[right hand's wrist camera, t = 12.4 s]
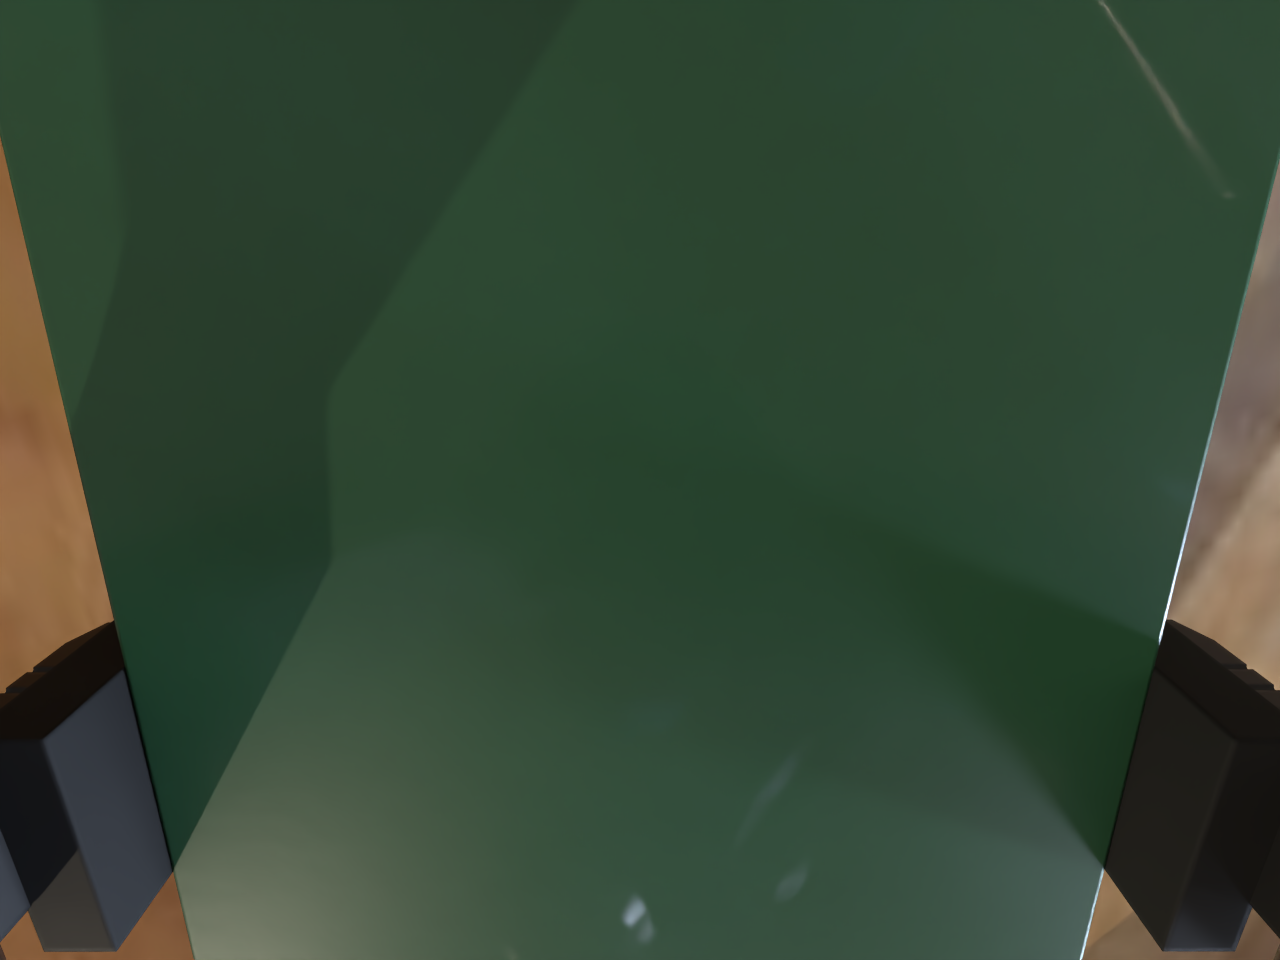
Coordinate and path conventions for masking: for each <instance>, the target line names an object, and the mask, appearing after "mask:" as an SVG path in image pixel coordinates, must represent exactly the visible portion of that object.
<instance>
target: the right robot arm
mask: <svg viewBox="0 0 1280 960" xmlns="http://www.w3.org/2000/svg"><path fill="white" fill-rule="evenodd" d="M33 669H34V670H33V672H27V673H25V674H24V675H23V676H21V677H20V678H19V679H17V680H16V681H15V682H14V683H12V684H11V685H10V686H8V687H7V688H6V692H5V693H0V942H1V941H2V939H3V938H4V937H5V936H6V935H7V934H8V933H9V931H10V930H11V929H12V928H13V927H14V926H15V925H16V923H17V922H18V921H19V920H20V919H21V918H22V917H23V915H24V914H25V913H26V912H27V911H28V912H29V915H30V917H31V920H32V922H33V925H34V927H35V930H36V932H37V935H38V937H39V940H40V942H41V945H42V948H43V950H44V952H116V951H117V950H118V949H119V947H120V946H121V944H122V943H123V942H124V940H125V939H126V937H127V936H128V934H129V933H130V932H131V930H132V929H133V927H134V926H135V925H136V923H137V922H138V920H139V919H140V917H141V916H142V915H143V913H144V912H145V910H146V909H147V908H148V906H149V905H150V903H151V902H152V900H153V899H154V898H155V896H156V895H157V893H158V892H159V891H160V889H161V888H162V886H163V885H164V883H165V882H166V881H167V879H168V878H169V876H170V875H171V874H172V872H173V868H172V864H171V860H170V856H169V851H168V847H167V843H166V839H165V834H164V830H163V826H162V822H161V817H160V813H159V809H158V804H157V800H156V796H155V792H154V787H153V783H152V779H151V775H150V770H149V766H148V762H147V758H146V753H145V749H144V745H143V741H142V736H141V732H140V728H139V724H138V719H137V715H136V711H135V707H134V702H133V698H132V694H131V690H130V685H129V681H128V677H127V673H126V668H125V664H124V660H123V656H122V651H121V647H120V643H119V639H118V634H117V630H116V626H115V622H114V621H112V622H108V623H106V624H104V625H102V626H100V627H98V628H96V629H94V630H92V631H90V632H87V633H85V634H83V635H81V636H79V637H77V638H75V639H73V640H71V641H69V642H67V643H65V644H64V645H63V646H61V647H60V648H59V649H57V650H56V651H55V652H53V653H52V654H51V655H49V656H48V657H47V658H45V659H44V660H43V661H41V662H40V663H39V664H37V665H36V666H35V667H33ZM1104 869H1105V870H1106V872H1107V873H1108V875H1109V876H1110V877H1111V879H1112V880H1113V882H1114V883H1115V885H1116V886H1117V887H1118V889H1119V890H1120V892H1121V893H1122V894H1123V896H1124V897H1125V899H1126V900H1127V902H1128V903H1129V904H1130V906H1131V907H1132V909H1133V910H1134V911H1135V913H1136V914H1137V916H1138V917H1139V919H1140V920H1141V921H1142V923H1143V924H1144V926H1145V927H1146V928H1147V930H1148V931H1149V933H1150V934H1151V936H1152V937H1153V938H1154V940H1155V941H1156V943H1157V944H1158V945H1159V947H1160V948H1161V950H1162V951H1235V950H1236V947H1237V945H1238V942H1239V940H1240V937H1241V935H1242V932H1243V930H1244V927H1245V924H1246V922H1247V919H1248V917H1249V914H1250V912H1251V909H1252V907H1253V909H1254V910H1255V911H1256V912H1257V913H1258V914H1259V915H1260V917H1261V918H1262V919H1263V920H1264V921H1265V922H1266V923H1267V925H1268V926H1269V927H1270V928H1271V929H1272V930H1273V931H1274V933H1275V934H1276V935H1277V936H1278V937H1279V938H1280V690H1275V689H1274V685H1273V684H1272V683H1271V682H1269V681H1268V680H1267V679H1265V678H1264V677H1262V676H1261V675H1260V674H1258V673H1257V672H1256V671H1254V670H1253V669H1247V667H1246V664H1245V663H1244V662H1242V661H1241V660H1240V659H1238V658H1237V657H1236V656H1234V655H1233V654H1232V653H1230V652H1229V651H1228V650H1226V649H1225V648H1224V647H1222V646H1221V645H1220V644H1218V643H1217V642H1216V641H1214V640H1212V639H1210V638H1208V637H1206V636H1204V635H1202V634H1200V633H1198V632H1196V631H1194V630H1192V629H1190V628H1188V627H1186V626H1184V625H1182V624H1179V623H1177V622H1175V621H1173V620H1166V621H1165V625H1164V629H1163V633H1162V637H1161V641H1160V646H1159V650H1158V654H1157V658H1156V662H1155V666H1154V670H1153V674H1152V678H1151V682H1150V686H1149V690H1148V694H1147V698H1146V702H1145V706H1144V710H1143V714H1142V718H1141V722H1140V727H1139V731H1138V735H1137V739H1136V743H1135V747H1134V751H1133V755H1132V759H1131V763H1130V767H1129V771H1128V775H1127V779H1126V783H1125V787H1124V791H1123V795H1122V799H1121V803H1120V808H1119V812H1118V816H1117V820H1116V824H1115V828H1114V832H1113V836H1112V840H1111V844H1110V848H1109V852H1108V856H1107V860H1106V864H1105V868H1104ZM0 960H6V957H5V955H4V952H3V950H2V948H1V945H0ZM1274 960H1280V945H1279V948H1278V950H1277V952H1276V955H1275V957H1274Z"/></svg>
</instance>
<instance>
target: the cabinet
mask: <svg viewBox="0 0 1280 960" xmlns="http://www.w3.org/2000/svg"><path fill="white" fill-rule="evenodd" d="M0 137H1V141H2V145H3V149H4V154H5V158H6V162H7V167H8V171H9V175H10V179H11V184H12V188H13V192H14V196H15V201H16V205H17V209H18V213H19V218H20V222H21V226H22V230H23V235H24V239H25V243H26V247H27V252H28V256H29V260H30V264H31V269H32V273H33V277H34V281H35V286H36V290H37V294H38V298H39V303H40V307H41V311H42V315H43V320H44V324H45V328H46V332H47V337H48V341H49V345H50V349H51V354H52V358H53V362H54V366H55V371H56V375H57V379H58V383H59V388H60V392H61V396H62V400H63V405H64V409H65V413H66V417H67V422H68V426H69V430H70V434H71V439H72V443H73V447H74V451H75V456H76V460H77V464H78V468H79V473H80V477H81V481H82V485H83V490H84V494H85V498H86V503H87V507H88V511H89V515H90V520H91V524H92V528H93V532H94V537H95V541H96V545H97V549H98V554H99V558H100V562H101V566H102V571H103V575H104V579H105V583H106V588H107V592H108V596H109V600H110V605H111V609H112V613H113V617H114V622H115V626H116V630H117V634H118V639H119V643H120V647H121V651H122V656H123V660H124V664H125V668H126V673H127V677H128V681H129V685H130V690H131V694H132V698H133V702H134V707H135V711H136V715H137V719H138V724H139V728H140V732H141V736H142V741H143V745H144V749H145V753H146V758H147V762H148V766H149V770H150V775H151V779H152V783H153V787H154V792H155V796H156V800H157V804H158V809H159V813H160V817H161V822H162V826H163V830H164V834H165V839H166V843H167V847H168V851H169V856H170V860H171V864H172V868H173V873H174V877H175V881H176V885H177V890H178V894H179V898H180V902H181V907H182V911H183V915H184V919H185V924H186V928H187V932H188V936H189V941H190V945H191V949H192V953H193V958H194V959H195V960H1082V957H1083V953H1084V949H1085V945H1086V941H1087V937H1088V933H1089V929H1090V925H1091V921H1092V917H1093V913H1094V909H1095V905H1096V901H1097V897H1098V893H1099V889H1100V885H1101V880H1102V876H1103V872H1104V868H1105V864H1106V860H1107V856H1108V852H1109V848H1110V844H1111V840H1112V836H1113V832H1114V828H1115V824H1116V820H1117V816H1118V812H1119V808H1120V803H1121V799H1122V795H1123V791H1124V787H1125V783H1126V779H1127V775H1128V771H1129V767H1130V763H1131V759H1132V755H1133V751H1134V747H1135V743H1136V739H1137V735H1138V731H1139V727H1140V722H1141V718H1142V714H1143V710H1144V706H1145V702H1146V698H1147V694H1148V690H1149V686H1150V682H1151V678H1152V674H1153V670H1154V666H1155V662H1156V658H1157V654H1158V650H1159V646H1160V641H1161V637H1162V633H1163V629H1164V625H1165V621H1166V617H1167V613H1168V609H1169V605H1170V601H1171V597H1172V593H1173V589H1174V585H1175V581H1176V577H1177V573H1178V569H1179V565H1180V560H1181V556H1182V552H1183V548H1184V544H1185V540H1186V536H1187V532H1188V528H1189V524H1190V520H1191V516H1192V512H1193V508H1194V504H1195V500H1196V496H1197V492H1198V488H1199V483H1200V479H1201V475H1202V471H1203V467H1204V463H1205V459H1206V455H1207V451H1208V447H1209V443H1210V439H1211V435H1212V431H1213V427H1214V423H1215V419H1216V415H1217V411H1218V407H1219V402H1220V398H1221V394H1222V390H1223V386H1224V382H1225V378H1226V374H1227V370H1228V366H1229V362H1230V358H1231V354H1232V350H1233V346H1234V342H1235V338H1236V334H1237V330H1238V326H1239V321H1240V317H1241V313H1242V309H1243V305H1244V301H1245V297H1246V293H1247V289H1248V285H1249V281H1250V277H1251V273H1252V269H1253V265H1254V261H1255V257H1256V253H1257V249H1258V244H1259V240H1260V236H1261V232H1262V228H1263V224H1264V220H1265V216H1266V212H1267V208H1268V204H1269V200H1270V196H1271V192H1272V188H1273V184H1274V180H1275V176H1276V172H1277V168H1278V163H1279V159H1280V0H0Z"/></svg>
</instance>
